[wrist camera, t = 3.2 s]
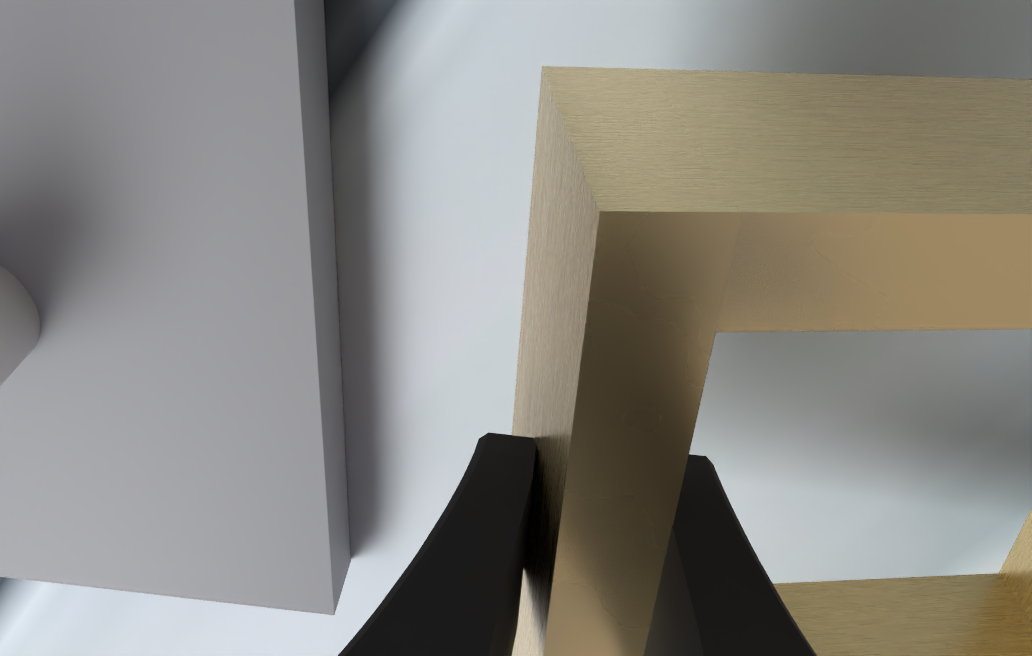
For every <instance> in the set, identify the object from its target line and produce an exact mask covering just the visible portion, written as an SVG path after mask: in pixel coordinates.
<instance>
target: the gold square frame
mask: <svg viewBox="0 0 1032 656" xmlns="http://www.w3.org/2000/svg"><path fill="white" fill-rule="evenodd" d="M964 329H1032V79H998V78H961V77H924V76H886V75H849V74H812V73H774V72H737V71H700V70H663V69H625V68H588V67H551V66H542V72H541V84H540V97H539V109H538V121H537V133H536V146H535V158H534V170H533V182H532V195H531V207H530V219H529V231H528V244H527V256H526V268H525V280H524V292H523V305H522V317H521V329H520V341H519V354H518V366H517V378H516V390H515V403H514V415H513V427H512V435H514V436H523V437H533V438H534V440H535V443H536V451H535V461H534V471H533V481H532V491H531V501H530V510H529V520H528V530H527V540H526V550H525V560H524V569H523V579H522V588H521V598H520V607H519V616H518V626H517V632H516V637H515V642H514V647H513V652H512V656H643V655H644V651H645V646H646V642H647V637H648V633H649V628H650V624H651V619H652V615H653V610H654V605H655V601H656V596H657V592H658V587H659V583H660V578H661V574H662V569H663V565H664V560H665V556H666V551H667V547H668V542H669V537H670V533H671V528H672V525H673V523H674V519H675V514H676V509H677V505H678V500H679V496H680V491H681V487H682V482H683V478H684V473H685V469H686V464H687V460H688V455H689V451H690V446H691V442H692V437H693V432H694V428H695V423H696V419H697V414H698V410H699V405H700V401H701V396H702V392H703V387H704V383H705V378H706V374H707V369H708V365H709V360H710V356H711V351H712V346H713V342H714V337H715V333H716V332H761V331H863V330H964ZM773 585H774V587H775V589H776V590H777V592H778V594H779V596H780V597H781V599H782V601H783V603H784V604H785V606H786V608H787V609H788V611H789V613H790V614H791V616H792V617H793V619H794V621H795V622H796V624H797V626H798V627H799V629H800V630H801V632H802V633H803V635H804V636H805V638H806V640H807V641H808V643H809V644H810V646H811V647H812V649H813V650H814V652H815V653H816V655H817V656H1032V510H1031V512H1030V514H1029V515H1028V517H1027V519H1026V521H1025V523H1024V525H1023V527H1022V529H1021V531H1020V533H1019V535H1018V537H1017V539H1016V541H1015V543H1014V545H1013V547H1012V549H1011V551H1010V553H1009V555H1008V557H1007V559H1006V561H1005V563H1004V564H1003V566H1002V568H1001V570H1000V572H999V573H997V574H975V575H953V576H931V577H909V578H887V579H865V580H844V581H822V582H800V583H778V584H773Z"/></svg>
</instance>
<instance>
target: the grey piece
mask: <svg viewBox="0 0 1032 656" xmlns="http://www.w3.org/2000/svg"><path fill="white" fill-rule="evenodd" d="M350 562H351V557H350V537H349V516H348V495H347V474H346V453H345V432H344V412H343V391H342V370H341V349H340V328H339V307H338V287H337V266H336V245H335V224H334V203H333V182H332V161H331V141H330V120H329V99H328V78H327V57H326V36H325V16H324V0H0V577H8V578H17V579H26V580H34V581H43V582H52V583H60V584H69V585H78V586H86V587H95V588H103V589H112V590H121V591H129V592H138V593H147V594H155V595H164V596H173V597H181V598H190V599H199V600H207V601H216V602H225V603H233V604H242V605H251V606H259V607H268V608H276V609H285V610H294V611H302V612H311V613H320V614H328V615H334V614H335V611H336V607H337V604H338V601H339V598H340V594H341V591H342V588H343V584H344V581H345V578H346V575H347V571H348V568H349V565H350Z"/></svg>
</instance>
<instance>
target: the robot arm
mask: <svg viewBox="0 0 1032 656" xmlns="http://www.w3.org/2000/svg"><path fill="white" fill-rule="evenodd" d="M535 451H536V443H535V440H534V438H533V437H523V436H514V435H505V434H496V433H487V434H486V435H484V436H483V437H481V438H479V440H478V443H477V446H476V449H475V452H474V454H473V456H472V459H471V461H470V463H469V465H468V467H467V470H466V472H465V474H464V476H463V478H462V480H461V482H460V483H459V485H458V487H457V489H456V491H455V493H454V494H453V496H452V498H451V500H450V501H449V503H448V505H447V507H446V509H445V510H444V512H443V513H442V515H441V517H440V518H439V520H438V521H437V523H436V525H435V526H434V528H433V529H432V531H431V532H430V534H429V536H428V537H427V539H426V540H425V542H424V544H423V545H422V547H421V548H420V550H419V551H418V553H417V554H416V556H415V557H414V559H413V560H412V562H411V563H410V564H409V566H408V567H407V568H406V570H405V571H404V573H403V574H402V575H401V577H400V578H399V579H398V581H397V582H396V583H395V585H394V586H393V588H392V589H391V590H390V592H389V593H388V594H387V596H386V597H385V599H384V600H383V601H382V603H381V604H380V605H379V607H378V608H377V609H376V610H375V612H374V613H373V614H372V615H371V617H370V618H369V619H368V620H367V622H366V623H365V624H364V625H363V627H362V628H361V629H360V630H359V631H358V633H357V634H356V635H355V636H354V637H353V639H352V640H351V641H350V642H349V643H348V645H347V646H346V647H345V648H344V649H343V650H342V651H341V653H340V654H339V655H338V656H512V652H513V647H514V642H515V637H516V632H517V626H518V616H519V607H520V598H521V588H522V579H523V569H524V560H525V550H526V540H527V530H528V520H529V510H530V501H531V491H532V481H533V471H534V461H535ZM643 656H817V655H816V653H815V652H814V650H813V649H812V647H811V646H810V644H809V643H808V641H807V640H806V638H805V636H804V635H803V633H802V632H801V630H800V629H799V627H798V626H797V624H796V622H795V621H794V619H793V617H792V616H791V614H790V613H789V611H788V609H787V608H786V606H785V604H784V603H783V601H782V599H781V597H780V596H779V594H778V592H777V590H776V589H775V587H774V585H773V584H772V582H771V580H770V578H769V577H768V575H767V573H766V571H765V570H764V568H763V566H762V564H761V563H760V561H759V559H758V557H757V555H756V553H755V552H754V550H753V548H752V546H751V544H750V542H749V540H748V538H747V536H746V534H745V532H744V530H743V528H742V526H741V524H740V522H739V521H738V519H737V517H736V514H735V512H734V510H733V508H732V506H731V504H730V502H729V500H728V498H727V495H726V493H725V491H724V489H723V487H722V484H721V482H720V480H719V477H718V475H717V473H716V470H715V468H714V465H713V464H712V463H711V461H710V460H709V459H708V458H707V457H706V456H699V455H690V454H689V455H688V460H687V464H686V469H685V473H684V478H683V482H682V487H681V491H680V496H679V500H678V505H677V509H676V514H675V519H674V523H673V525H672V528H671V533H670V537H669V542H668V547H667V551H666V556H665V560H664V565H663V569H662V574H661V578H660V583H659V587H658V592H657V596H656V601H655V605H654V610H653V615H652V619H651V624H650V628H649V633H648V637H647V642H646V646H645V651H644V655H643Z"/></svg>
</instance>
